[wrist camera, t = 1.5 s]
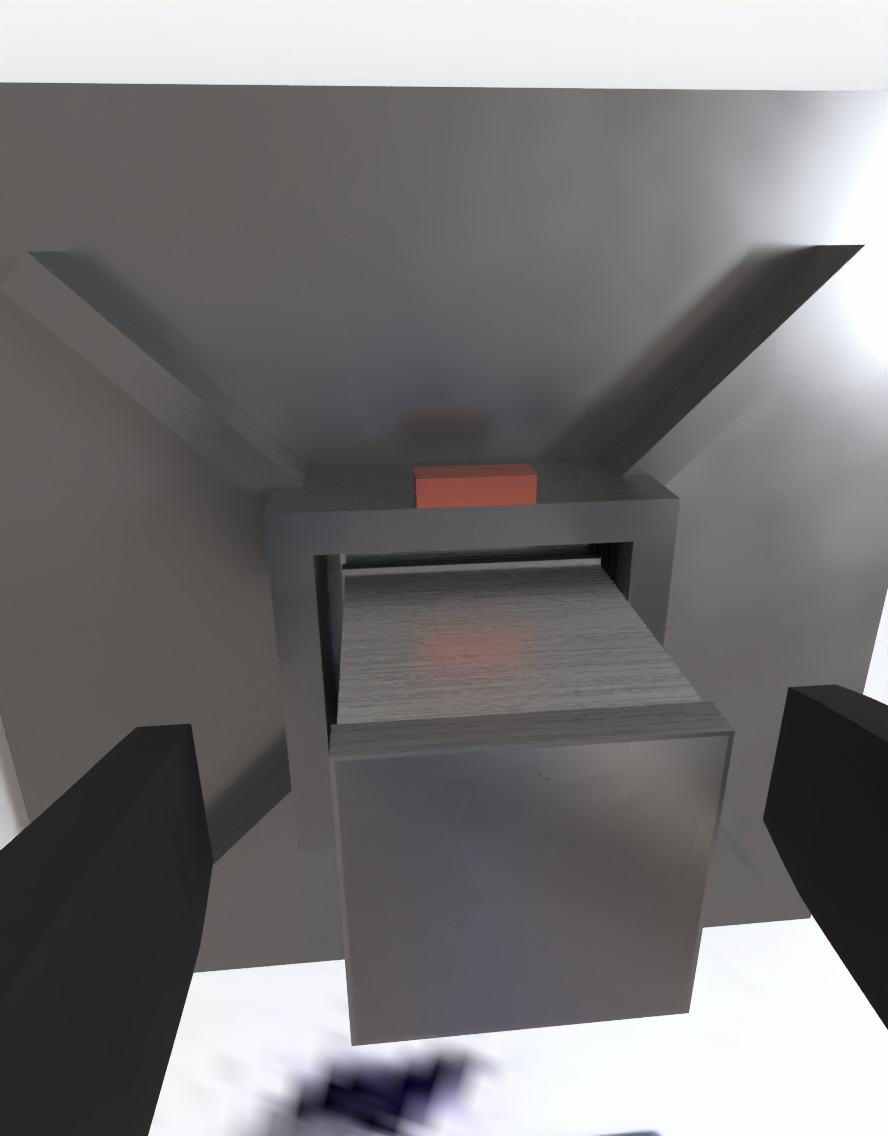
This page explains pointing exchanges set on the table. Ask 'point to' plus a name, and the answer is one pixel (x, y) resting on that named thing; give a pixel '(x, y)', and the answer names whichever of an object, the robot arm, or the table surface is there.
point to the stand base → (425, 418)
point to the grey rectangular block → (515, 797)
